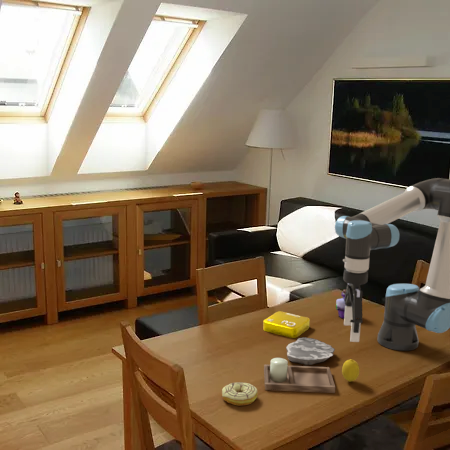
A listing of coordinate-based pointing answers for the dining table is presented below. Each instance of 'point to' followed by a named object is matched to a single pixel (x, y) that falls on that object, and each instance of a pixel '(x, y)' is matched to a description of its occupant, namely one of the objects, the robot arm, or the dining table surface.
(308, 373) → the organizer
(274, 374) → the white capsule pill
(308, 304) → the dining table surface
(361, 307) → the robot arm
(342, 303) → the potion bottle
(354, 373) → the lemon
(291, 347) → the brain slice
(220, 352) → the dining table surface
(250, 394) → the decorated donut
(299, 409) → the dining table surface
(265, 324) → the element tile
